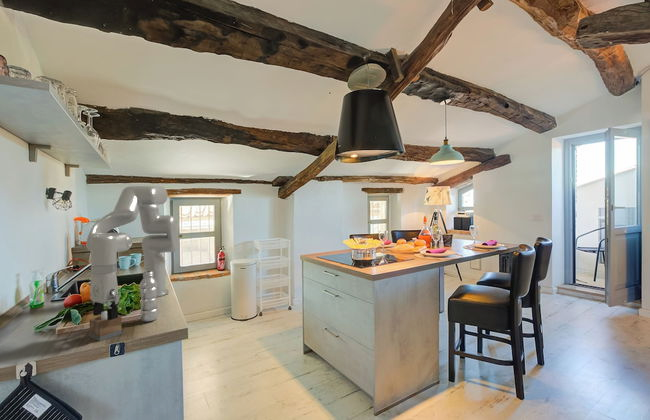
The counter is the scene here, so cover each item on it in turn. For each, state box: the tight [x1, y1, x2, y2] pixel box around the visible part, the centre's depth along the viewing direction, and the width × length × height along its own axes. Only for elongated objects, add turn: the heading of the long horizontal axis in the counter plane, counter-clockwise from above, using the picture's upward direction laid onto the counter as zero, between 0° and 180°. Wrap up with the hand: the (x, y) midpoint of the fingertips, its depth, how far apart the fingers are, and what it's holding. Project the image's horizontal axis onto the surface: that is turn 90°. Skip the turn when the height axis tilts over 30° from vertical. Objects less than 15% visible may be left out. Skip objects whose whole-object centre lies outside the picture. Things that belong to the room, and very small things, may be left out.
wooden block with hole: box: [89, 314, 123, 337], centre depth 109 cm, size 7×7×5 cm
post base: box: [89, 310, 123, 342], centre depth 109 cm, size 7×7×8 cm
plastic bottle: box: [138, 271, 159, 323], centre depth 122 cm, size 6×7×20 cm
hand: (105, 316), depth 109 cm, fingers open, 9 cm apart
